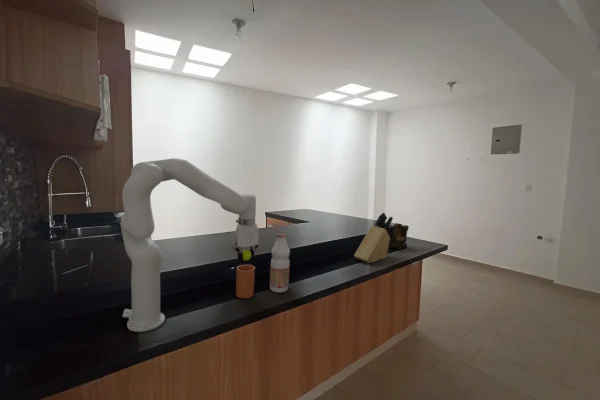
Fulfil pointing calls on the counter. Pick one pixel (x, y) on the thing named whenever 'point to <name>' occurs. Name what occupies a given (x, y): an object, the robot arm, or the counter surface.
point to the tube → (245, 281)
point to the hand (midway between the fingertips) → (245, 259)
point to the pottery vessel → (398, 236)
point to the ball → (246, 255)
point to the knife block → (376, 241)
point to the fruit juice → (280, 265)
